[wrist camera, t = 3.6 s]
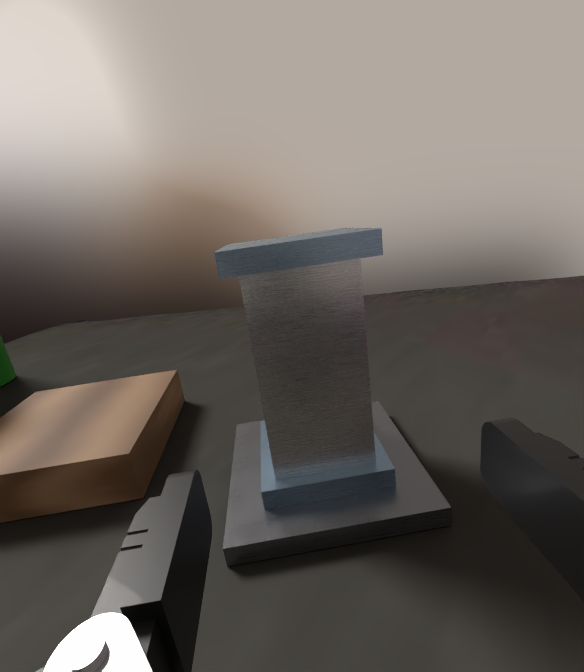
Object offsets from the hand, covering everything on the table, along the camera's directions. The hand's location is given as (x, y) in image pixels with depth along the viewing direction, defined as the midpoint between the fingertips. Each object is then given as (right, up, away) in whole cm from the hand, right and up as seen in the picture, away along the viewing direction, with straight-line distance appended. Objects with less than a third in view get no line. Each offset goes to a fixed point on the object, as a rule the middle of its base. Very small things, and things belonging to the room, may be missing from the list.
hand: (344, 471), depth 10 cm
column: (0, -3, +10) cm, 11 cm away
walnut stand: (-16, -5, +16) cm, 23 cm away
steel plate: (0, -4, +10) cm, 11 cm away
